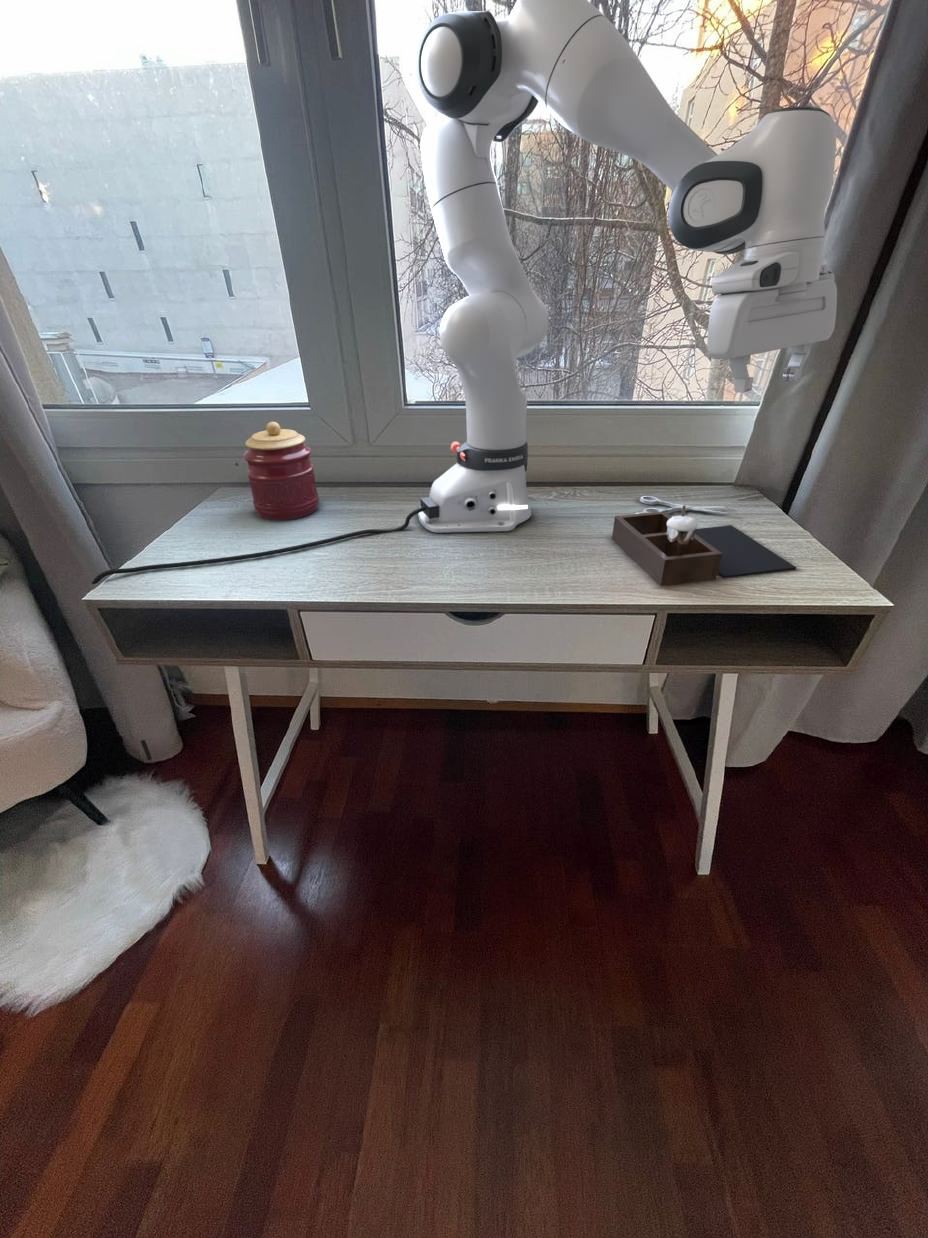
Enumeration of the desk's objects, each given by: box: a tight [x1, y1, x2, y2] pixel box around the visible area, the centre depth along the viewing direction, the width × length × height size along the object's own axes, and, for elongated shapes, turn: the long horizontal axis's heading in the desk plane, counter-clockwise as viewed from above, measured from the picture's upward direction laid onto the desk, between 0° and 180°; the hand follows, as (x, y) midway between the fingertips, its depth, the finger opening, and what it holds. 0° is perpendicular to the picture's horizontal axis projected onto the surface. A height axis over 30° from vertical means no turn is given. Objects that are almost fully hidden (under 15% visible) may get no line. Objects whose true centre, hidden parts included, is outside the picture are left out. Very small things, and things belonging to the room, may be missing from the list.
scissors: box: [634, 495, 741, 516], centre depth 117 cm, size 11×1×20 cm
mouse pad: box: [695, 524, 797, 579], centre depth 102 cm, size 13×18×1 cm
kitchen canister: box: [242, 421, 320, 521], centre depth 118 cm, size 13×13×18 cm
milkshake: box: [665, 504, 698, 557], centre depth 94 cm, size 5×5×10 cm
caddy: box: [611, 511, 722, 587], centre depth 99 cm, size 10×18×4 cm, turn 12°
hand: (767, 386), depth 81 cm, fingers open, 8 cm apart
